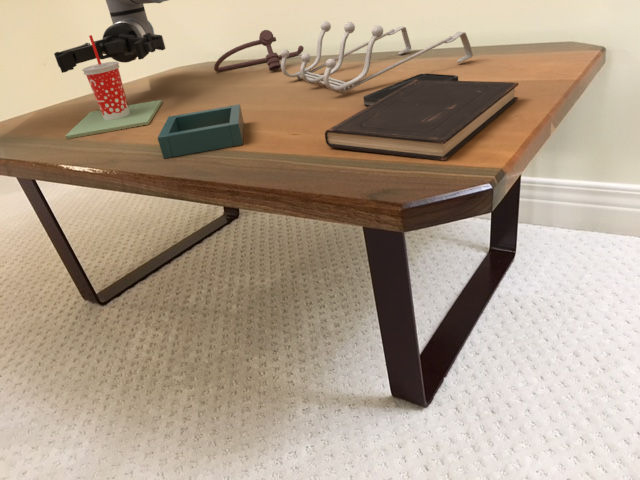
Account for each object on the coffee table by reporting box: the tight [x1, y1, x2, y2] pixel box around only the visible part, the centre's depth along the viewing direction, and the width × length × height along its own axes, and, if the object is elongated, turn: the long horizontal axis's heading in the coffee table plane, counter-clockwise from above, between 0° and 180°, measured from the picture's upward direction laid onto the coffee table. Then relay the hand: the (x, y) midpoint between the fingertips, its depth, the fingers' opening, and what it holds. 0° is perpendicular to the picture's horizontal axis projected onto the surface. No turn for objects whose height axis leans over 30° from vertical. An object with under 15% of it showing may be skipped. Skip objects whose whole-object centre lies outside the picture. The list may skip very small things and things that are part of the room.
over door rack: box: [280, 20, 474, 94], centre depth 99 cm, size 22×29×10 cm
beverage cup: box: [81, 34, 130, 120], centre depth 95 cm, size 6×6×14 cm
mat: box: [64, 99, 163, 140], centre depth 98 cm, size 14×16×1 cm
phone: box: [363, 73, 459, 107], centre depth 84 cm, size 8×1×15 cm
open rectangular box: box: [157, 103, 245, 160], centre depth 78 cm, size 11×11×3 cm
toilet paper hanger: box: [213, 29, 305, 73], centre depth 122 cm, size 22×8×14 cm
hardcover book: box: [324, 80, 519, 162], centre depth 70 cm, size 16×23×2 cm
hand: (99, 58), depth 95 cm, fingers open, 13 cm apart
